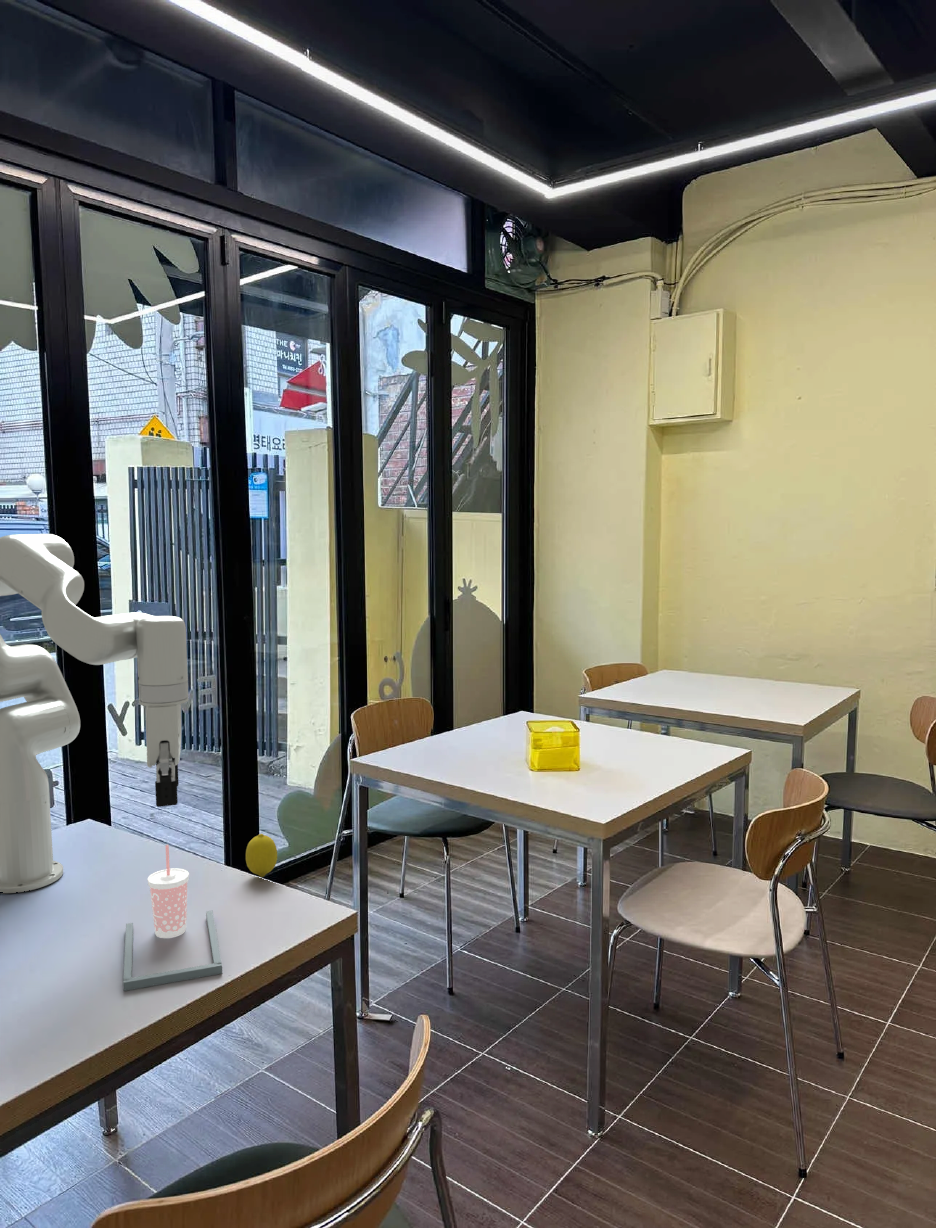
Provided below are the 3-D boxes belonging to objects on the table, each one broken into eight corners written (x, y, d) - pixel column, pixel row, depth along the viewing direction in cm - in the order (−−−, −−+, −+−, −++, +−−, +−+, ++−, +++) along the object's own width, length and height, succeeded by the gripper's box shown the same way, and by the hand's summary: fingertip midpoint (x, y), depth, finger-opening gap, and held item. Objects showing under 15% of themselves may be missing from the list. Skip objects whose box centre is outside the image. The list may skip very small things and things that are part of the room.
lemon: (265, 868, 159) (263, 826, 158) (284, 875, 156) (283, 833, 155) (240, 877, 155) (238, 834, 154) (259, 885, 152) (257, 842, 151)
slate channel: (126, 930, 135) (126, 923, 135) (212, 917, 139) (212, 910, 139) (123, 990, 118) (123, 982, 118) (222, 973, 122) (222, 965, 122)
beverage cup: (149, 925, 137) (145, 840, 135) (190, 919, 139) (186, 835, 137) (150, 943, 131) (146, 854, 129) (192, 936, 133) (188, 849, 132)
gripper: (141, 684, 146) (146, 782, 148) (135, 705, 130) (140, 815, 132) (188, 682, 148) (191, 778, 150) (187, 702, 132) (191, 810, 134)
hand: (167, 795), depth 141 cm, fingers open, 9 cm apart
